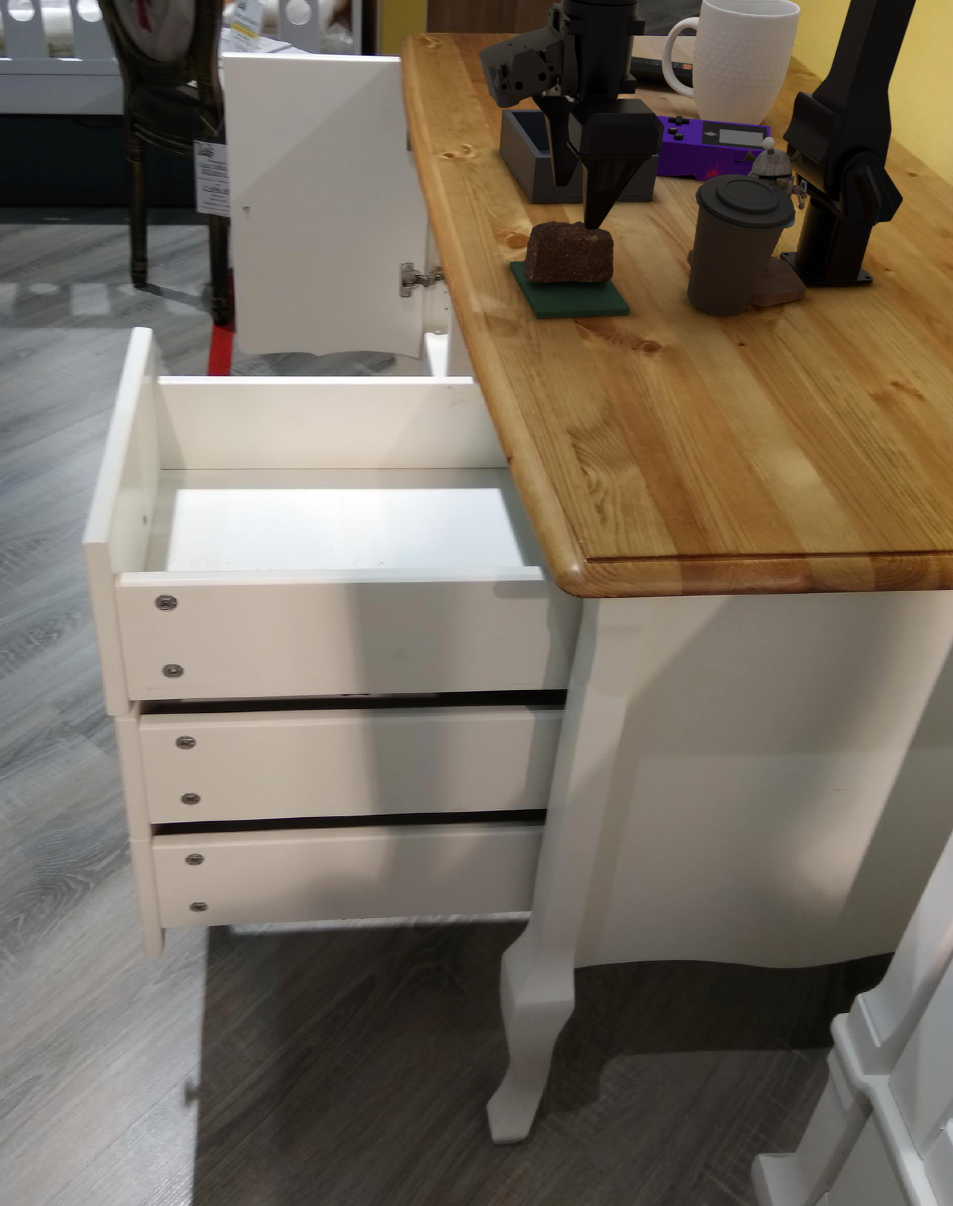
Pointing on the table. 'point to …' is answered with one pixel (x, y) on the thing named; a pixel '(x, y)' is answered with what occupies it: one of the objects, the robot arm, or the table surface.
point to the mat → (569, 297)
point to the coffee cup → (734, 240)
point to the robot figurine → (778, 274)
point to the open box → (533, 166)
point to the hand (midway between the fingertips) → (575, 206)
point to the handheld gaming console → (708, 147)
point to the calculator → (660, 71)
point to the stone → (568, 253)
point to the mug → (736, 57)
